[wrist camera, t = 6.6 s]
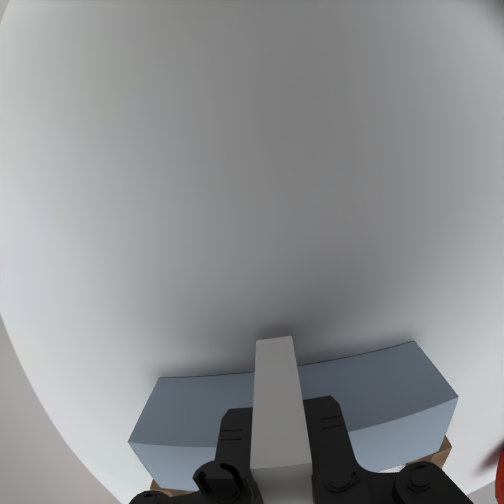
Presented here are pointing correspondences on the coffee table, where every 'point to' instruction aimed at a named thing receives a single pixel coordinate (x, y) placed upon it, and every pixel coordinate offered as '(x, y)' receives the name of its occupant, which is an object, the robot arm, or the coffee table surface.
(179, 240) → the coffee table surface
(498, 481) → the apple
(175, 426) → the t block
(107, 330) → the coffee table surface
